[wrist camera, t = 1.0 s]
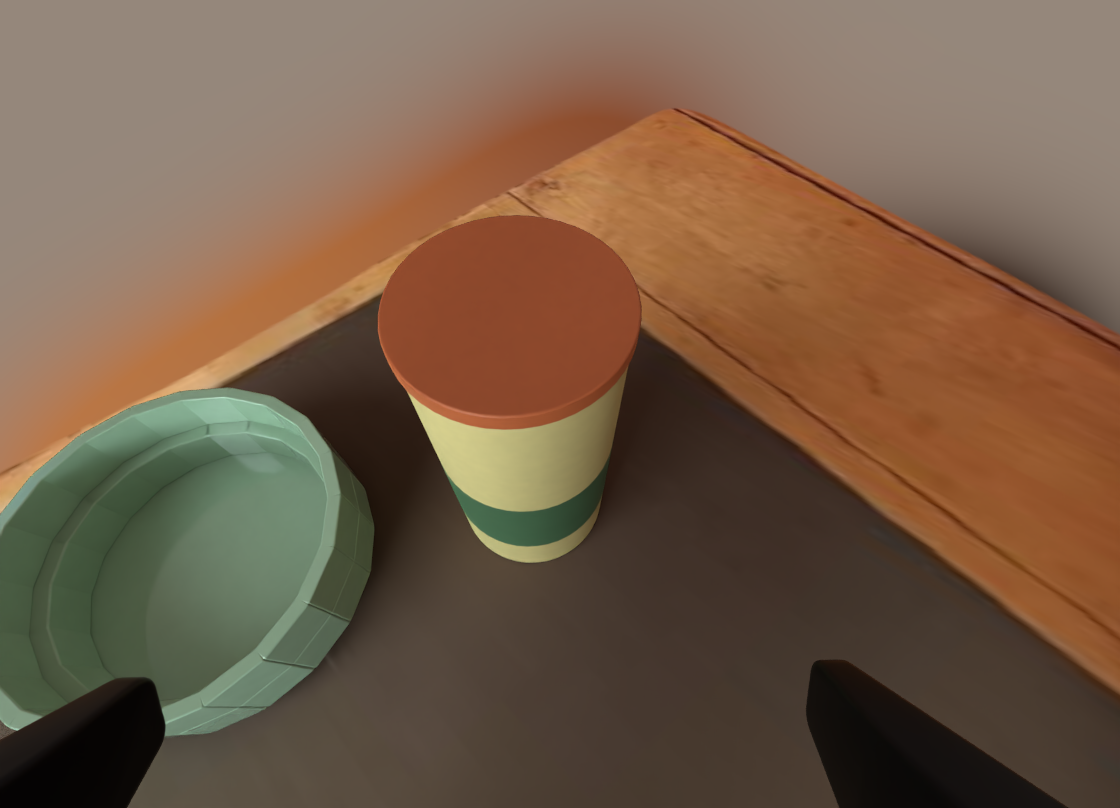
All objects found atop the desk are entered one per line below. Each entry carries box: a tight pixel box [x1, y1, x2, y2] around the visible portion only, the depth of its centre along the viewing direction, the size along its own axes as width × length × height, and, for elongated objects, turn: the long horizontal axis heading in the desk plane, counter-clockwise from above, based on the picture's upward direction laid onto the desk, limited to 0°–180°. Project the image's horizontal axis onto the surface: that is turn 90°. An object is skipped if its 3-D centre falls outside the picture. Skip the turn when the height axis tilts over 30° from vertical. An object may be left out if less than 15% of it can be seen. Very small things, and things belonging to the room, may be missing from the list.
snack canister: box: [378, 215, 642, 563], centre depth 18 cm, size 6×6×13 cm
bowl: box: [0, 388, 375, 738], centre depth 19 cm, size 12×12×4 cm
